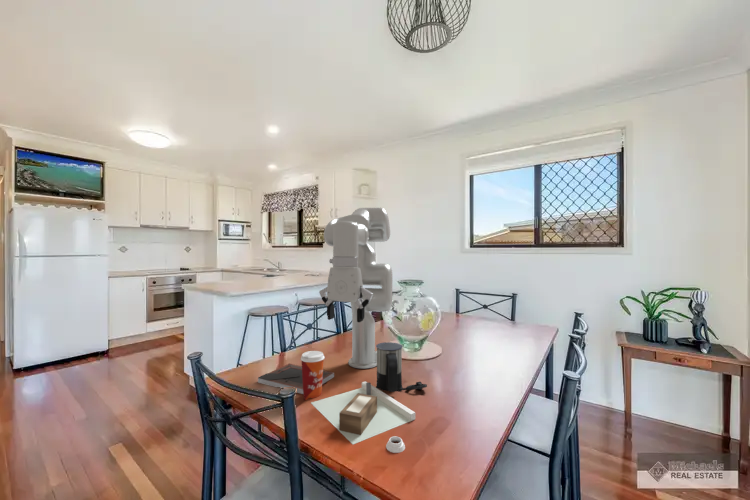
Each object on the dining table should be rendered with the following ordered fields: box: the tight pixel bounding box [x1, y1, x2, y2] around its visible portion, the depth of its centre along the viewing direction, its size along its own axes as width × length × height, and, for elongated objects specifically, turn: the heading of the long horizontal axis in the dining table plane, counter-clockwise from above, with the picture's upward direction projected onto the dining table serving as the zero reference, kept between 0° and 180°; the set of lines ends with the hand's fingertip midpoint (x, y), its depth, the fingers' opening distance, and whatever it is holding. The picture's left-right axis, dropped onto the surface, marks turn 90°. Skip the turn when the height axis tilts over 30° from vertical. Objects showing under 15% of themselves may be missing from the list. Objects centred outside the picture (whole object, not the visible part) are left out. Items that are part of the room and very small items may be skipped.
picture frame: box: [257, 363, 335, 395], centre depth 116 cm, size 16×2×22 cm
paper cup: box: [300, 350, 325, 401], centre depth 102 cm, size 8×8×14 cm
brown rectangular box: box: [338, 393, 377, 435], centre depth 86 cm, size 12×6×5 cm, turn 160°
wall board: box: [310, 380, 416, 445], centre depth 91 cm, size 20×25×5 cm
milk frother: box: [375, 341, 428, 393], centre depth 108 cm, size 14×16×15 cm
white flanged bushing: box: [385, 435, 406, 454], centre depth 75 cm, size 5×3×5 cm
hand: (345, 320), depth 94 cm, fingers open, 9 cm apart
